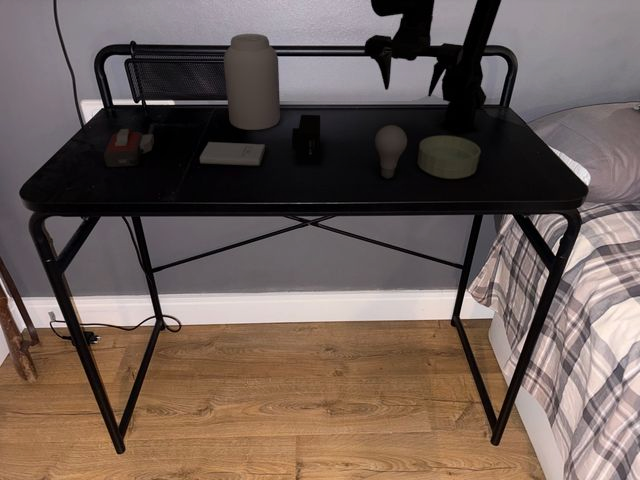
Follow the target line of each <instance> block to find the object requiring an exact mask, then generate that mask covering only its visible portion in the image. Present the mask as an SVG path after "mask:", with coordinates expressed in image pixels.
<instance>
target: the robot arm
mask: <svg viewBox="0 0 640 480" xmlns="http://www.w3.org/2000/svg"><path fill="white" fill-rule="evenodd" d="M501 2H502V0H476V3H475V5H474V9H473V12H472V14H471V15H472V16H471V18H470V20H469V24H468V28H467V31H466V34H465V37H464V40H463V44H455V43H449V42H448V43H446V42H443V43H442V44H441V45H440V46H439V47H437V46H431V41H432V38H431V29H432V23H433V20H434V9H435V0H370V6H371V8H372V11H373V12H374V14H376V16H378V17H381V18H384V17H391V16H399V15H402V16H401V18H400V21H399V27H398V28H397V31H396V32H395V34H394V36H393V37H392V36H389V35H381V34H374V35H372V36H370V37H369V38H367V39H366V40H365V43H364V49H363V53H364V54H365V55H370V56H369V57H370V59H371V60H374V62H376V64H377V65H378V68H379V70H380V75H381V78H382V82H383V86H384V90H386V91H388V90H389V89H390V83H391V72H392V70H391V69H392V59H394V60H398V59H399V60H400V59H401V60H406V61H409V62H412V61H415V60H416V59H417V58H418V56H422V57H430V58H435V59H436V63H435V64H433V69H432V71H433V72H432V75H431V79H430V84H429V87H428V92H427V93H428V94H427V97H431V96H432V94H433V93H434V90H435V89H436V86H437V85H438V83H439V81H440V79H441V82H442V83H441V92H442V101H444V102H445V101H446V102H447V109H446V110H445V114H444V120H443V121H442V122H440V126H441V127H443V128H445V129H446V130H448V131H450V132H452V133H453V134H455V135H458V134H464V133H469V132H475V131H477V130H478V127H477V126H475V125H474V122H475V118H476V112H477V110H480V109H482V107H484V106H485V104H486V100H487V95H486V93H485V91H484V89H483V88H482V82H483V79H484V74H483V67H482V59H483V57H484V53H485V50H486V47H487V44H488V42H489V39H490V36H491V32H492V30H493V27H494V24H495V21H496V18H497V15H498V12H499V9H500V6H501ZM443 74H444V75H443ZM442 75H443V77H442ZM441 77H442V78H441Z"/></svg>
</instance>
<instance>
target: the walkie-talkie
mask: <svg viewBox="0 0 640 480" xmlns="http://www.w3.org/2000/svg"><path fill="white" fill-rule="evenodd" d="M155 127H156V125H155V123H151V124H149V128H148V131H147V134H143V132H142V131H132V129H131V128H120V129H119V130H118V132H115V133H113V134H112V135H111V136H110V139H109V141H108V144H107V146H106V148H105V151H104V153H103V159H104V163H105V166H106V167H108V168H120V167H135V166H137V165H138V164H139V163H140V160H141V156H142V155H145V154H146V153H148V152H151V151H152V149H153V146H154V144H155V137H154V130H155Z"/></svg>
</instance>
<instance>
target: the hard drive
mask: <svg viewBox="0 0 640 480" xmlns="http://www.w3.org/2000/svg"><path fill="white" fill-rule="evenodd" d="M265 151H266V145H265V144H262V143H261V144H259V143H242V142H241V143H239V142H238V143H237V142H216V141H208V142H207V144H206V146H205V147H204V149H203V151H202V152H201V154H200V156H199V164H207V165H228V166H251V167H253V166H257V167H258V166H260V165H261V162H262V159H263V157H264V155H265Z"/></svg>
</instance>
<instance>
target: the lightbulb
mask: <svg viewBox="0 0 640 480" xmlns="http://www.w3.org/2000/svg"><path fill="white" fill-rule="evenodd" d="M374 145H375V146H374V147H375V149H376V151H377V154H378V155H379V157H380V160H379V161H380V167H381V169H380V170H381V172H380V174H381V176H382V177H383V178H384V179H385V180H389V179H391V178H393V177H394V176H395V171H396V168H397V164H398V161H399V159H400V157H401V156H402V154H403V153H404V151H405V150H406V148H407V145H408V137H407V134H406V132H405V131H404V130H403V129H402V127H399V126H397V125H396V124H395V125H394V124H388V125H385V126H384V127H381V128H380V129H379V130H378V132H377V133H376V135H375V138H374Z"/></svg>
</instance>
